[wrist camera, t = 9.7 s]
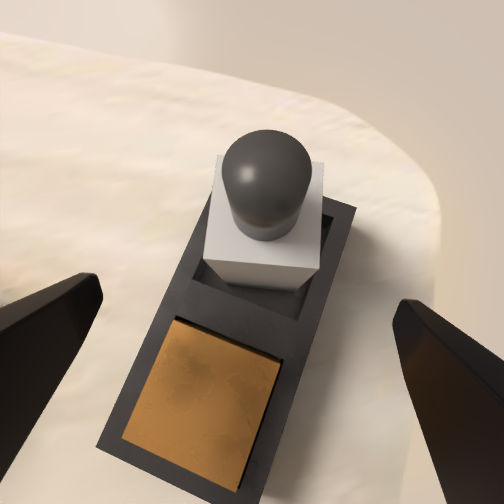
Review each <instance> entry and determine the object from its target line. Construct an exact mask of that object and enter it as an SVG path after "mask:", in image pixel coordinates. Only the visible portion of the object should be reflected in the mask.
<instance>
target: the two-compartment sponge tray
mask: <svg viewBox="0 0 504 504" xmlns="http://www.w3.org/2000/svg"><path fill="white" fill-rule="evenodd" d="M211 196H212V192H211V194H210V196H209V198H208V200H207V203H206V205H205V207H204V209H203V211H202V214H201V216H200V218H199V220H198V222H197V225H196V227H195V229H194V231H193V233H192V236H191V238H190V240H189V242H188V245H187V247H186V249H185V251H184V253H183V256H182V258H181V260H180V262H179V264H178V267H177V269H176V271H175V273H174V275H173V278H172V280H171V282H170V284H169V286H168V289H167V291H166V293H165V295H164V297H163V300H162V302H161V304H160V306H159V308H158V311H157V313H156V315H155V317H154V319H153V322H152V324H151V326H150V328H149V330H148V333H147V335H146V337H145V339H144V341H143V344H142V346H141V348H140V350H139V352H138V355H137V357H136V359H135V361H134V363H133V366H132V368H131V370H130V372H129V375H128V377H127V379H126V381H125V383H124V386H123V388H122V390H121V392H120V394H119V397H118V399H117V401H116V403H115V405H114V408H113V410H112V412H111V414H110V416H109V419H108V421H107V423H106V425H105V427H104V430H103V432H102V434H101V436H100V438H99V441H98V443H97V445H96V448H98V449H100V450H102V451H105V452H107V453H109V454H111V455H113V456H115V457H117V458H119V459H121V460H123V461H125V462H127V463H129V464H131V465H133V466H135V467H137V468H139V469H141V470H143V471H145V472H148V473H150V474H152V475H154V476H156V477H158V478H160V479H162V480H164V481H166V482H168V483H170V484H172V485H174V486H176V487H178V488H180V489H182V490H184V491H186V492H188V493H191V494H193V495H195V496H197V497H199V498H201V499H203V500H205V501H207V502H209V503H211V504H259V501H260V498H261V495H262V492H263V489H264V486H265V483H266V480H267V477H268V474H269V471H270V468H271V465H272V462H273V459H274V456H275V453H276V450H277V447H278V444H279V441H280V438H281V435H282V432H283V429H284V426H285V423H286V420H287V417H288V414H289V411H290V408H291V405H292V402H293V399H294V396H295V393H296V390H297V387H298V384H299V381H300V378H301V374H302V371H303V368H304V365H305V362H306V359H307V356H308V353H309V350H310V347H311V344H312V341H313V338H314V335H315V332H316V329H317V326H318V323H319V320H320V317H321V314H322V311H323V308H324V305H325V302H326V299H327V296H328V293H329V290H330V287H331V284H332V281H333V278H334V275H335V272H336V269H337V266H338V263H339V260H340V257H341V254H342V251H343V248H344V245H345V242H346V239H347V236H348V233H349V230H350V227H351V224H352V221H353V218H354V215H355V212H356V209H357V207H354V206H351V205H348V204H345V203H342V202H339V201H336V200H333V199H330V198H327V197H324V196H322V217H321V240H320V262H319V270H317V271H316V272H315V273H314V274H313V275H312V276H311V277H310V278H309V279H308V280H307V281H306V282H305V283H303V284H302V285H301V286H300V287H299V288H298V289H297V290H296V291H295V292H294V291H283V290H272V289H262V288H251V287H240V286H229V285H227V284H226V283H225V282H224V281H223V280H222V279H221V278H220V276H219V275H218V274H217V273H216V272H215V271H214V270H213V269H212V268H211V267H210V266H209V265H208V264H207V263H206V261H205V260H204V259H203V254H204V246H205V239H206V232H207V225H208V217H209V210H210V203H211Z"/></svg>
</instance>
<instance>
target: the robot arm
mask: <svg viewBox="0 0 504 504" xmlns="http://www.w3.org/2000/svg"><path fill="white" fill-rule="evenodd" d="M102 301H103V293H102V289H101V286H100V282H99V279H98V276H97V275H96V274H94V273H79V274H77V275H74V276H72V277H70V278H68V279H65V280H63V281H61V282H58V283H56V284H54V285H52V286H49V287H47V288H45V289H43V290H40V291H38V292H36V293H33V294H31V295H29V296H27V297H24V298H22V299H20V300H18V301H15V302H13V303H11V304H8V305H6V306H4V307H2V308H0V482H1V481H2V479H3V477H4V476H5V474H6V472H7V471H8V469H9V467H10V466H11V464H12V462H13V461H14V459H15V457H16V456H17V454H18V452H19V451H20V449H21V447H22V446H23V444H24V442H25V441H26V439H27V437H28V436H29V434H30V432H31V431H32V429H33V427H34V426H35V424H36V422H37V420H38V419H39V417H40V415H41V414H42V412H43V410H44V409H45V407H46V405H47V404H48V402H49V400H50V399H51V397H52V395H53V394H54V392H55V390H56V389H57V387H58V385H59V384H60V382H61V380H62V379H63V377H64V375H65V374H66V372H67V370H68V369H69V367H70V365H71V364H72V362H73V360H74V359H75V357H76V355H77V354H78V352H79V350H80V348H81V346H82V344H83V342H84V340H85V338H86V336H87V334H88V332H89V330H90V328H91V326H92V323H93V321H94V319H95V317H96V315H97V313H98V310H99V308H100V306H101V304H102ZM392 326H393V332H394V336H395V341H396V345H397V350H398V354H399V359H400V363H401V368H402V372H403V376H404V379H405V382H406V386H407V388H408V391H409V394H410V397H411V400H412V403H413V406H414V409H415V412H416V415H417V418H418V420H419V423H420V426H421V429H422V432H423V435H424V438H425V441H426V444H427V447H428V449H429V452H430V455H431V458H432V461H433V464H434V467H435V470H436V473H437V476H438V479H439V482H440V485H441V487H442V491H443V493H444V496H445V499H446V502H447V504H504V361H503V360H502V359H501V358H499V357H498V356H496V355H495V354H494V353H492V352H491V351H489V350H488V349H486V348H485V347H484V346H482V345H481V344H479V343H478V342H477V341H475V340H474V339H472V338H471V337H470V336H468V335H467V334H465V333H464V332H462V331H461V330H460V329H458V328H457V327H455V326H454V325H453V324H451V323H450V322H448V321H447V320H445V319H444V318H443V317H441V316H440V315H438V314H437V313H435V312H434V311H433V310H431V309H430V308H429V307H427V306H426V305H424V304H423V303H421V302H420V301H418V300H413V299H403V300H401V301H400V303H399V306H398V308H397V311H396V313H395V316H394V318H393V323H392Z"/></svg>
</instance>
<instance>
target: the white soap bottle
mask: <svg viewBox="0 0 504 504" xmlns="http://www.w3.org/2000/svg"><path fill="white" fill-rule="evenodd" d="M323 173H324V163H321V162H311V160H310V157H309V155H308V153H307V151H306V149H305V148H304V147H303V145H302V144H301V143H300V142H299V141H298V140H296V139H295V138H293V137H292V136H290V135H288V134H286V133H283V132H280V131H276V130H258V131H254V132H251V133H248V134H246V135H244V136H242V137H241V138H239V139H238V140H237V141H235V142H234V143H233V144H232V145H231V146H230V148H229V149H228V151H227V152H226V154H225V156H219V155H217V160H216V167H215V174H214V181H213V188H212V196H211V203H210V210H209V217H208V225H207V232H206V239H205V246H204V254H203V259H204V260H205V261H206V263H207V264H208V265H209V266H210V267H211V268H212V269H213V270H214V271H215V272H216V273H217V274H218V275H219V276H220V278H221V279H222V280H223V281H224V282H225V283H226V284H227V285H229V286H240V287H251V288H262V289H272V290H283V291H294V292H295V291H296V290H297V289H298V288H299V287H300V286H301V285H302V284H303V283H305V282H306V281H307V280H308V279H309V278H310V277H311V276H312V275H313V274H314V273H315V272H316V271H317V270H319V262H320V240H321V217H322V195H323Z"/></svg>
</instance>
